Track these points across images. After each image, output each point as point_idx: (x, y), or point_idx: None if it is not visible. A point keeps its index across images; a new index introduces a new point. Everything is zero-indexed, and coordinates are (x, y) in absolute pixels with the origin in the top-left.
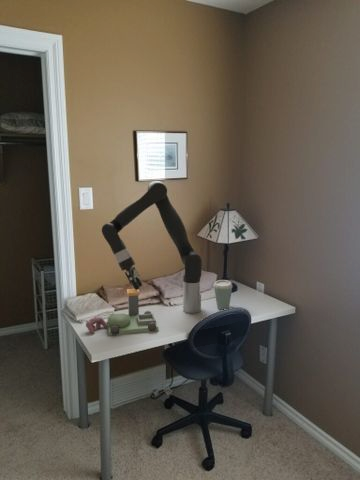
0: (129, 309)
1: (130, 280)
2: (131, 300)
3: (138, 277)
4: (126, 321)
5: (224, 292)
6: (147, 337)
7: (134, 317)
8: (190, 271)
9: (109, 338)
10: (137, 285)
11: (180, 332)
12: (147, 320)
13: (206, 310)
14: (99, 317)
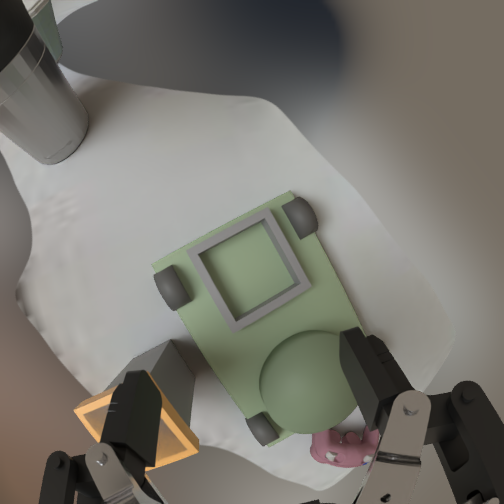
0: (191, 393)
1: (459, 433)
2: (180, 406)
3: (121, 463)
4: None
5: (50, 7)
6: (352, 221)
7: (223, 344)
8: None
9: (390, 352)
10: (372, 356)
11: (271, 113)
12: (285, 246)
13: None
14: (335, 455)
